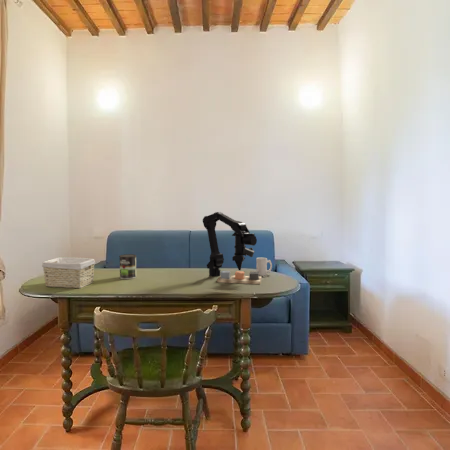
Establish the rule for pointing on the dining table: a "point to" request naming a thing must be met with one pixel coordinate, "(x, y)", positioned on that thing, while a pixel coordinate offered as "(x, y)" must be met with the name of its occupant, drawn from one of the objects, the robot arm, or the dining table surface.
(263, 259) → the mug
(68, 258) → the storage basket
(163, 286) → the dining table surface
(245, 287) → the dining table surface
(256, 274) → the dark grey cube
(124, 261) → the coffee can
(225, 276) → the blue-grey cube
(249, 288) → the dining table surface
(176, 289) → the dining table surface
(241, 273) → the orange cube
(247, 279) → the birch panel
